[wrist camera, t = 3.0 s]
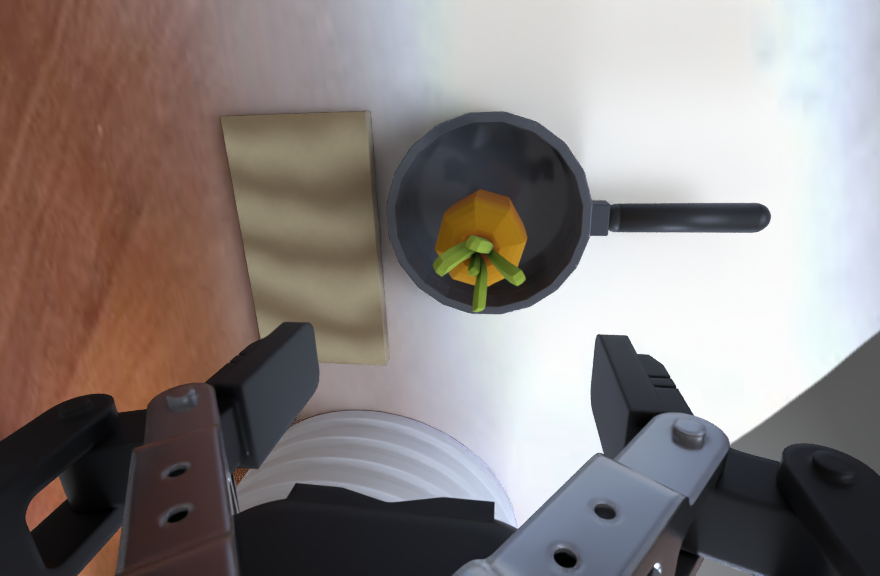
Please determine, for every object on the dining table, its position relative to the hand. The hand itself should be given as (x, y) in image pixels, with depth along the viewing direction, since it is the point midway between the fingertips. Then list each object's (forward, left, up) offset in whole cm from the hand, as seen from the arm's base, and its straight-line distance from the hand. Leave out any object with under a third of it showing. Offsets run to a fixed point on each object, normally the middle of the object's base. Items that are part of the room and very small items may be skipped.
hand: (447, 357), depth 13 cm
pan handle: (0, +12, -20) cm, 23 cm away
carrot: (0, 0, -23) cm, 23 cm away
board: (+3, -14, -23) cm, 27 cm away
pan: (0, 0, -23) cm, 23 cm away
